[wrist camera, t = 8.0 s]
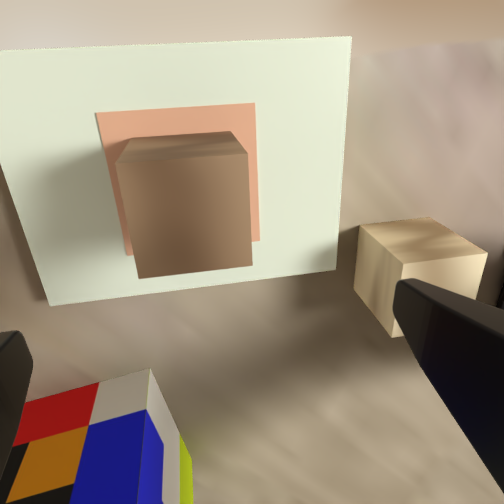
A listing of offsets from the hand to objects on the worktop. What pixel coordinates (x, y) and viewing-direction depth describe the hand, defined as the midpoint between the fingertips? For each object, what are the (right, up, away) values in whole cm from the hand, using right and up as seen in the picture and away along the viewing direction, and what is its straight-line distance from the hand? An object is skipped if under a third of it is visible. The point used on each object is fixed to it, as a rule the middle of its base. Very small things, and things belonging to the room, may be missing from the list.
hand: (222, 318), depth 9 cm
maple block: (+9, +2, +15) cm, 18 cm away
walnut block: (-2, +5, +9) cm, 11 cm away
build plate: (-3, +5, +10) cm, 12 cm away
